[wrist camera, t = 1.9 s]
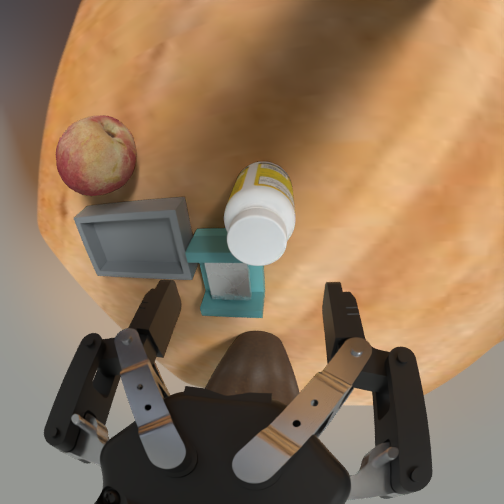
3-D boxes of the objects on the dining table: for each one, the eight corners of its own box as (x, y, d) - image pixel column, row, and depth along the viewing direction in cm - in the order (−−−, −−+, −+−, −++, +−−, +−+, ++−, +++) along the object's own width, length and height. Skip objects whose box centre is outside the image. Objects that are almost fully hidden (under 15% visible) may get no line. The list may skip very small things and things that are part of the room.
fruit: (160, 165, 25) (121, 198, 19) (106, 186, 27) (64, 221, 21) (134, 96, 21) (84, 108, 15) (81, 127, 23) (31, 149, 17)
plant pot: (193, 342, 42) (168, 431, 29) (248, 296, 34) (230, 414, 21) (264, 376, 46) (256, 457, 33) (326, 342, 39) (332, 441, 26)
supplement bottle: (246, 216, 28) (230, 279, 20) (229, 168, 25) (202, 215, 17) (298, 205, 27) (304, 266, 19) (284, 154, 24) (286, 195, 16)
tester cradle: (197, 228, 29) (185, 252, 26) (261, 227, 29) (258, 252, 25) (210, 289, 34) (202, 315, 31) (265, 290, 34) (262, 317, 30)
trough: (87, 206, 29) (73, 217, 26) (184, 196, 27) (175, 209, 25) (107, 261, 34) (97, 275, 31) (198, 263, 32) (192, 279, 30)
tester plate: (205, 253, 28) (203, 259, 27) (247, 253, 28) (246, 259, 27) (214, 293, 31) (212, 299, 31) (251, 294, 31) (250, 300, 30)
